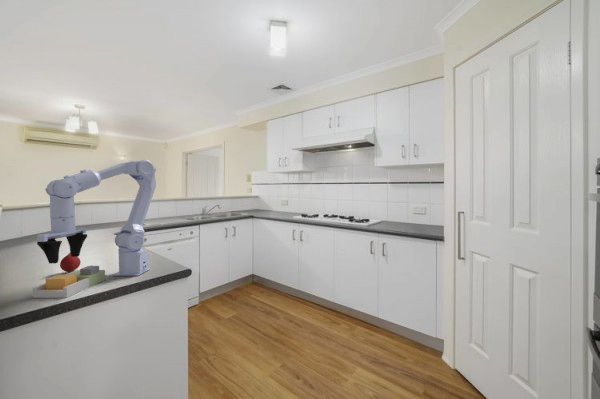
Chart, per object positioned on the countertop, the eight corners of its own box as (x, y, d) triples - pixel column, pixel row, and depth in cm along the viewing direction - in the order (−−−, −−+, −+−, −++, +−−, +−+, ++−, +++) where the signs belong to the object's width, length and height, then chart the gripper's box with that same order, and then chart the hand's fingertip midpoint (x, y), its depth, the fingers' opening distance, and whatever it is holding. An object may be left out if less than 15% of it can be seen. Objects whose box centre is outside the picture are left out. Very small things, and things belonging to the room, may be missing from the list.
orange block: (77, 290, 81) (76, 274, 81) (65, 295, 77) (65, 279, 77) (58, 290, 81) (58, 274, 81) (46, 295, 77) (45, 279, 77)
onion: (68, 275, 94) (67, 254, 94) (56, 274, 95) (55, 253, 95) (84, 271, 100) (83, 251, 99) (72, 270, 101) (72, 250, 101)
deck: (105, 279, 90) (104, 264, 90) (67, 297, 75) (66, 279, 75) (77, 279, 90) (76, 264, 90) (33, 297, 75) (32, 279, 75)
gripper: (70, 214, 87) (72, 253, 88) (25, 220, 73) (28, 266, 73) (91, 214, 87) (92, 253, 88) (50, 220, 73) (52, 266, 73)
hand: (64, 259), depth 81 cm, fingers open, 7 cm apart
